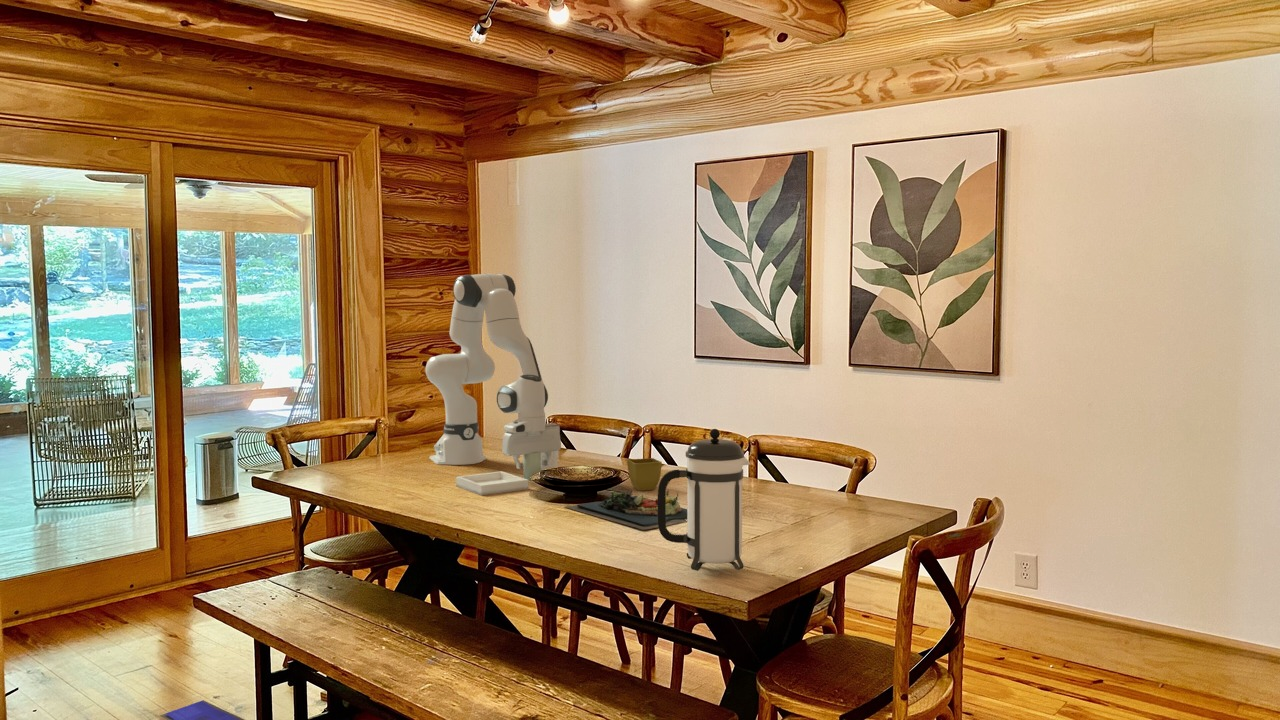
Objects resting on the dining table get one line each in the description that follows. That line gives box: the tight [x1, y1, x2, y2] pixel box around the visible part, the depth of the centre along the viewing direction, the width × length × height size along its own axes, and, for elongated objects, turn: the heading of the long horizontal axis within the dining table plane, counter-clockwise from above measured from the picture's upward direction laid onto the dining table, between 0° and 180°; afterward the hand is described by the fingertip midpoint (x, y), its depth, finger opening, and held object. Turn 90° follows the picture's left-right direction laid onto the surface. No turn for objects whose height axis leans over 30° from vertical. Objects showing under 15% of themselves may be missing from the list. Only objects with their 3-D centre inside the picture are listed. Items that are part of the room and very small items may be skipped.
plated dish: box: [564, 488, 687, 531], centre depth 262 cm, size 35×28×7 cm
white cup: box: [541, 451, 559, 470], centre depth 323 cm, size 8×8×10 cm
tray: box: [455, 470, 530, 496], centre depth 293 cm, size 18×16×3 cm
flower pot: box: [626, 457, 663, 492], centre depth 290 cm, size 9×9×9 cm
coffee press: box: [657, 428, 751, 572], centre depth 206 cm, size 17×16×30 cm
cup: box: [522, 452, 542, 482], centre depth 307 cm, size 6×6×9 cm
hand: (532, 467), depth 307 cm, fingers open, 8 cm apart
